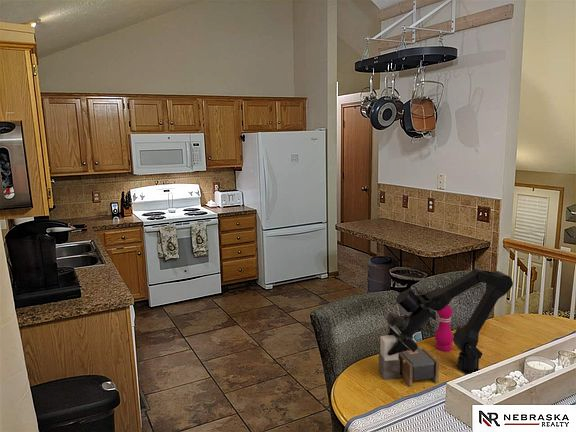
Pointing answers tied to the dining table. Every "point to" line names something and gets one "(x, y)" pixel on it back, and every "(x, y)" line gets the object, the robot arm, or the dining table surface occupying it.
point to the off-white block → (387, 347)
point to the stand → (389, 368)
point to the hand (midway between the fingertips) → (385, 350)
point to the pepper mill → (444, 330)
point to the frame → (407, 368)
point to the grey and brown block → (420, 364)
